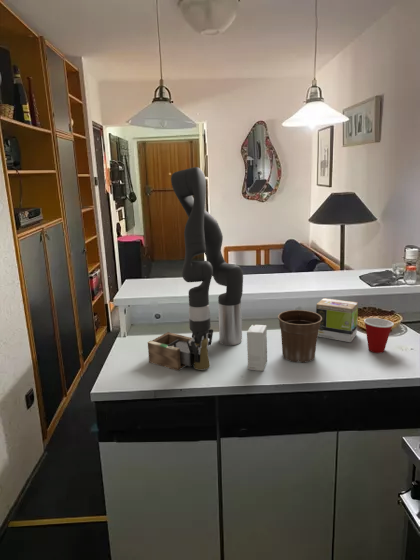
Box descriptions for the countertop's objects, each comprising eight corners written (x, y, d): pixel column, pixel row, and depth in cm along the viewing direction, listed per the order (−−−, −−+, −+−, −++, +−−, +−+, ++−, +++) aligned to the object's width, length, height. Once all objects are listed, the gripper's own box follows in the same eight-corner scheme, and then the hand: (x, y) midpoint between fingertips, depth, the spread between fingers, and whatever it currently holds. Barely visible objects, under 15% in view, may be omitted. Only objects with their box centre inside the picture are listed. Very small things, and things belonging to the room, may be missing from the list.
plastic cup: (395, 348, 167) (398, 320, 164) (384, 358, 160) (387, 328, 157) (368, 341, 175) (370, 314, 171) (357, 350, 167) (358, 321, 164)
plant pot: (293, 343, 175) (294, 306, 171) (328, 355, 164) (330, 315, 160) (268, 356, 164) (269, 317, 160) (304, 370, 153) (306, 328, 149)
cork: (208, 370, 154) (207, 341, 151) (191, 369, 155) (190, 341, 152) (211, 362, 159) (210, 335, 156) (195, 361, 160) (194, 334, 158)
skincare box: (263, 371, 153) (263, 333, 149) (246, 369, 155) (246, 331, 151) (267, 361, 161) (267, 324, 157) (251, 359, 162) (251, 323, 158)
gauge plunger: (203, 357, 161) (202, 339, 159) (187, 368, 153) (186, 349, 151) (182, 352, 166) (181, 334, 164) (165, 362, 158) (164, 343, 156)
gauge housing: (197, 358, 165) (196, 337, 163) (178, 370, 156) (176, 349, 154) (168, 350, 173) (167, 331, 171) (149, 362, 163) (147, 341, 161)
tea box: (356, 334, 182) (359, 301, 178) (350, 343, 174) (352, 309, 170) (322, 328, 190) (323, 296, 186) (314, 336, 182) (315, 303, 178)
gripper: (202, 308, 160) (203, 350, 164) (179, 321, 148) (181, 366, 153) (219, 311, 156) (220, 355, 160) (196, 324, 144) (199, 370, 149)
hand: (201, 360), depth 156 cm, fingers closed on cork, 4 cm apart
